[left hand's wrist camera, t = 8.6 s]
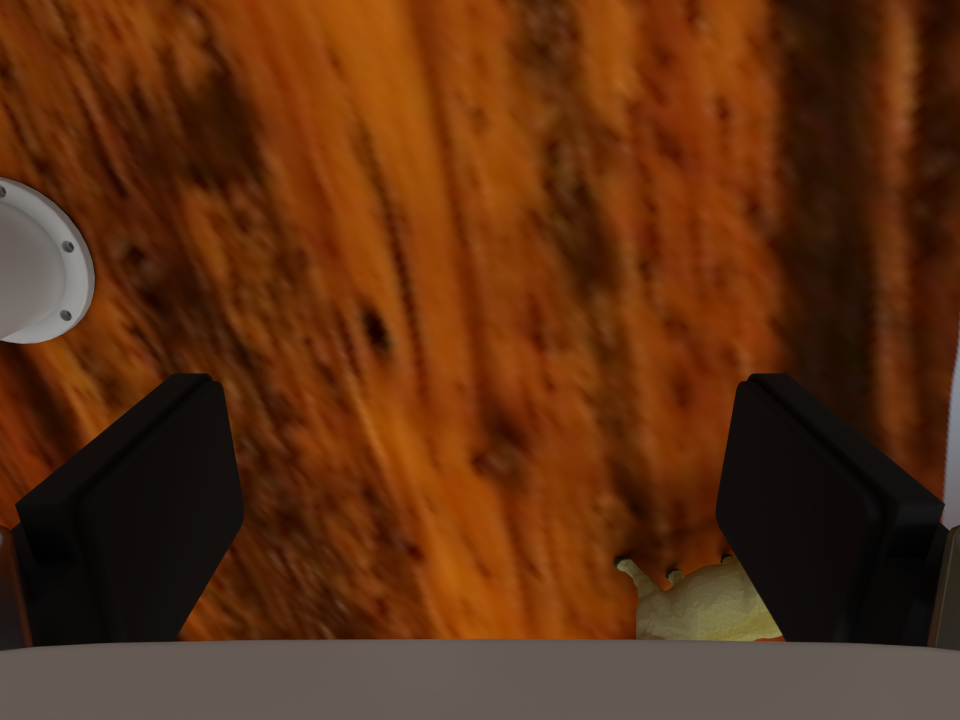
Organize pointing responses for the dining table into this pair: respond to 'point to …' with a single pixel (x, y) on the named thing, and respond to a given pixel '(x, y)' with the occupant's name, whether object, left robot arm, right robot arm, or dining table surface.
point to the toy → (701, 604)
